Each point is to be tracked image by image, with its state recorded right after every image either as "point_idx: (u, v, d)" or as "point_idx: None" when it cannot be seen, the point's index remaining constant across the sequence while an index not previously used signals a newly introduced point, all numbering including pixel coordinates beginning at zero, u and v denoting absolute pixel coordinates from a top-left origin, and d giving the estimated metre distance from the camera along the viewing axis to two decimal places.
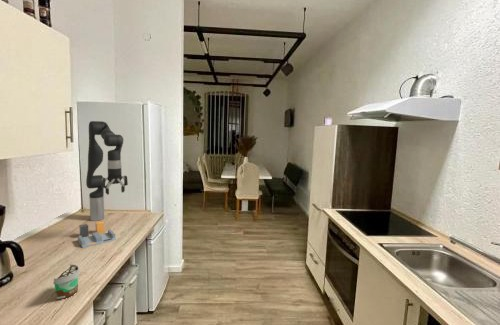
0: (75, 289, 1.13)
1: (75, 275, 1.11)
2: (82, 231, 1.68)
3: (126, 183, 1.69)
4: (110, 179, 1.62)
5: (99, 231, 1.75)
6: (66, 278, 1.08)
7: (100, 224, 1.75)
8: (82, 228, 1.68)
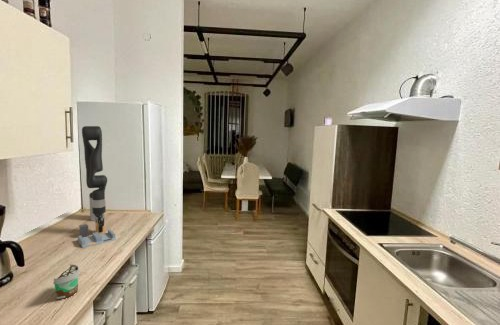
0: (75, 289, 1.13)
1: (75, 275, 1.11)
2: (82, 231, 1.68)
3: None
4: None
5: None
6: (66, 278, 1.08)
7: None
8: (82, 228, 1.68)
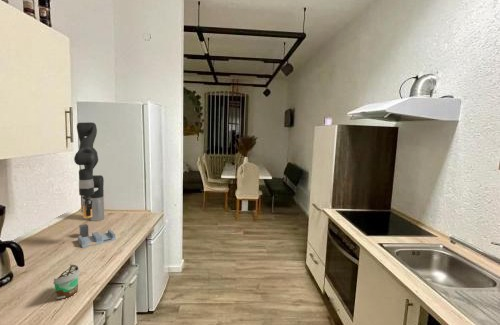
0: (75, 289, 1.13)
1: (75, 275, 1.11)
2: (82, 231, 1.68)
3: None
4: None
5: None
6: (66, 278, 1.08)
7: None
8: (82, 228, 1.68)
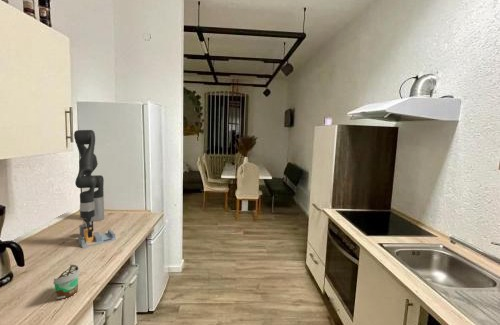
0: (75, 289, 1.13)
1: (75, 275, 1.11)
2: (82, 231, 1.68)
3: None
4: (91, 221, 1.59)
5: (88, 239, 1.60)
6: (66, 278, 1.08)
7: None
8: (82, 228, 1.68)
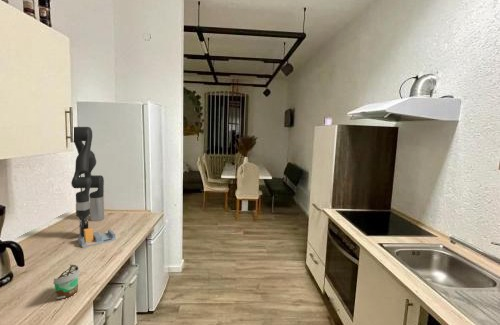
0: (75, 289, 1.13)
1: (75, 275, 1.11)
2: (82, 231, 1.69)
3: None
4: (86, 220, 1.68)
5: (88, 239, 1.60)
6: (66, 278, 1.08)
7: (89, 231, 1.60)
8: None
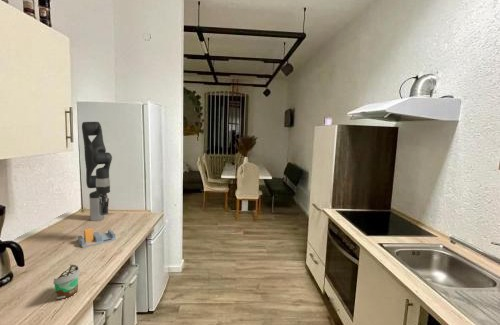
0: (75, 289, 1.13)
1: (75, 275, 1.11)
2: (102, 209, 1.64)
3: None
4: (106, 197, 1.64)
5: (88, 239, 1.60)
6: (66, 278, 1.08)
7: (89, 231, 1.60)
8: None
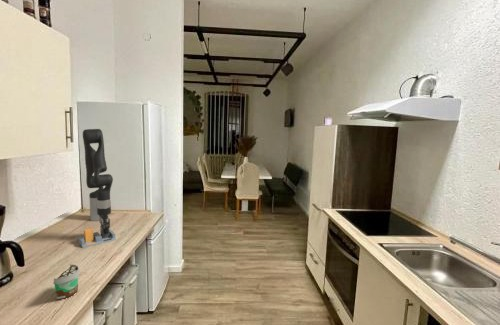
0: (75, 289, 1.13)
1: (75, 275, 1.11)
2: None
3: None
4: (107, 218, 1.65)
5: (88, 239, 1.60)
6: (66, 278, 1.08)
7: (89, 231, 1.60)
8: (103, 229, 1.65)
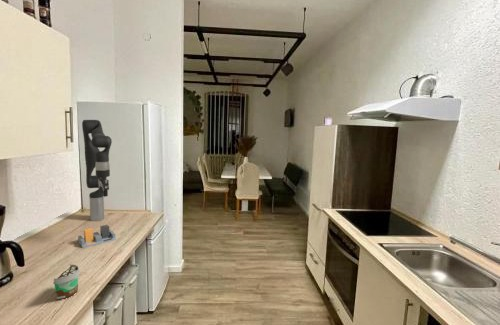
0: (75, 289, 1.13)
1: (75, 275, 1.11)
2: (104, 232, 1.66)
3: None
4: None
5: (88, 239, 1.60)
6: (66, 278, 1.08)
7: (89, 231, 1.60)
8: (103, 229, 1.65)
